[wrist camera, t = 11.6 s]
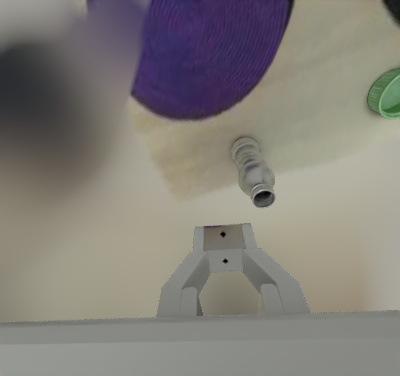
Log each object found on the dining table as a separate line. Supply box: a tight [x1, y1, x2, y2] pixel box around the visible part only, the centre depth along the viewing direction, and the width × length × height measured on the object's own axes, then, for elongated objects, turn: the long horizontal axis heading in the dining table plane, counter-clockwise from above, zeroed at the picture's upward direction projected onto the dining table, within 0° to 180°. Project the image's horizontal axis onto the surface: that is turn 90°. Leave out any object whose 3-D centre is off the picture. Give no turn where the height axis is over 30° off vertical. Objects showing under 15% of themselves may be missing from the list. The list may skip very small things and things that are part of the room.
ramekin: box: [368, 68, 400, 119], centre depth 38 cm, size 9×9×4 cm
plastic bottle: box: [231, 137, 275, 208], centre depth 39 cm, size 6×7×20 cm
